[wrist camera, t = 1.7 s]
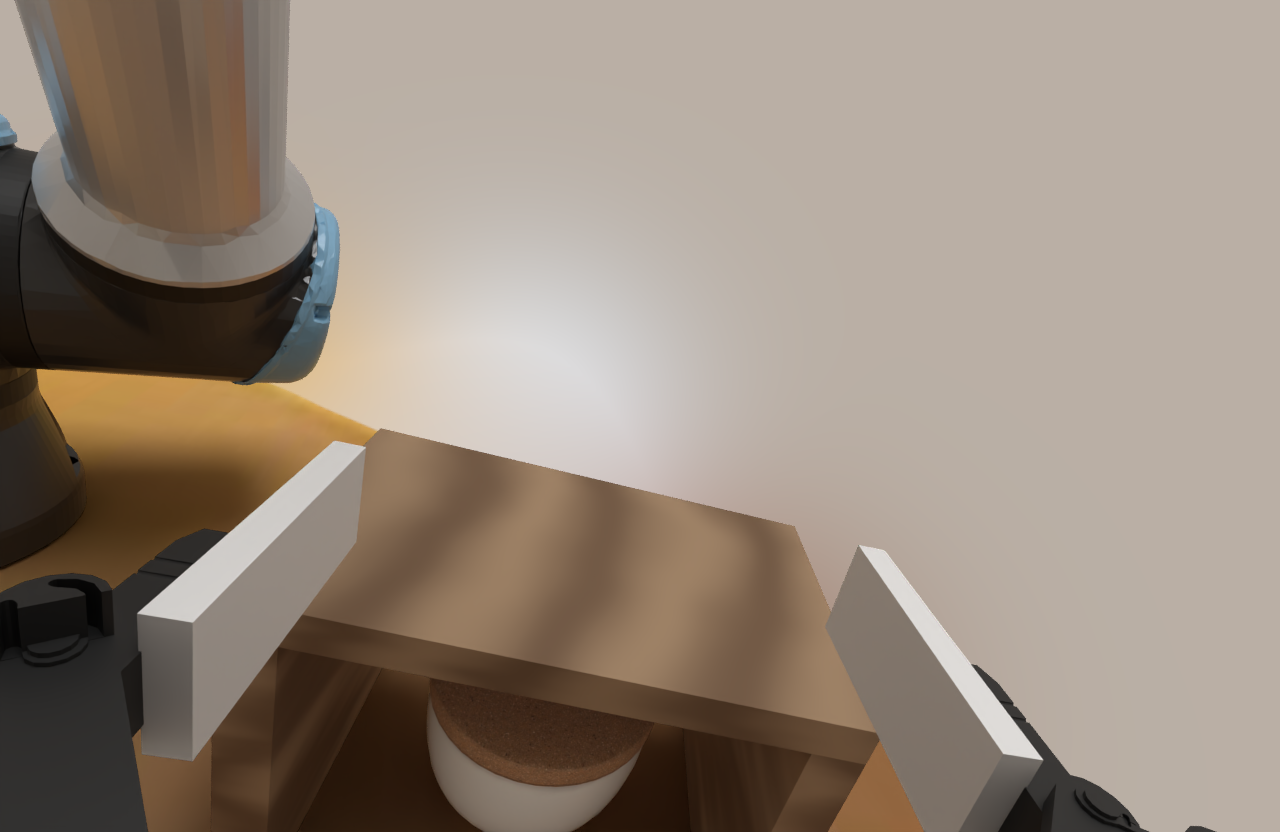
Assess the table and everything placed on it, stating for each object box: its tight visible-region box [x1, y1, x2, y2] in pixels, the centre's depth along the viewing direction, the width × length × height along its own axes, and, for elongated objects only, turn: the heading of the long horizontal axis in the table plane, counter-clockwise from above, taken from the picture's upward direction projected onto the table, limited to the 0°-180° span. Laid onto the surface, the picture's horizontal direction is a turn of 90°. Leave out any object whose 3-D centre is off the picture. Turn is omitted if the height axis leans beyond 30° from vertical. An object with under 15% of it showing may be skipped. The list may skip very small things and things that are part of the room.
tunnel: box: [211, 429, 880, 832], centre depth 28 cm, size 22×13×14 cm, turn 89°
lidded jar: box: [427, 678, 654, 832], centre depth 30 cm, size 11×11×9 cm
